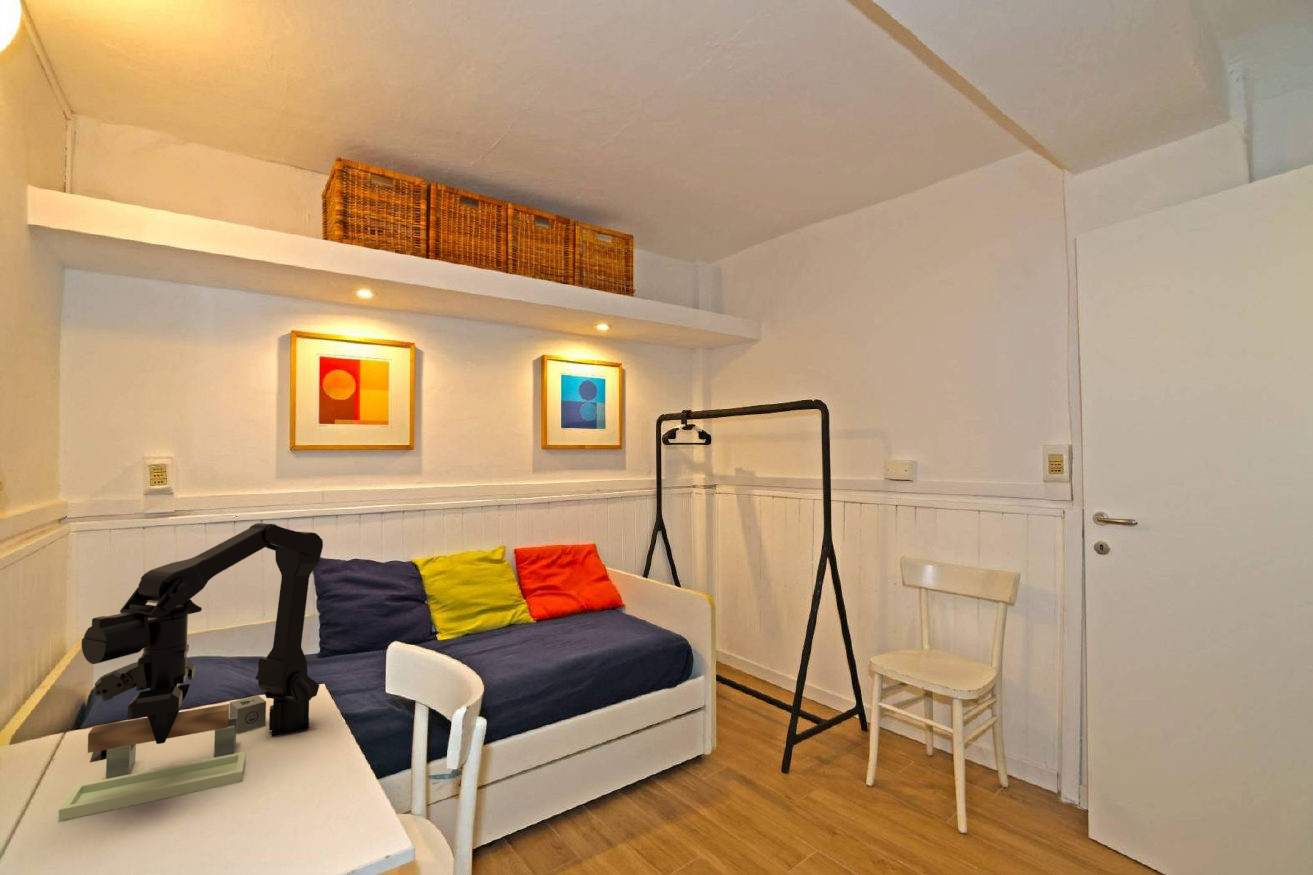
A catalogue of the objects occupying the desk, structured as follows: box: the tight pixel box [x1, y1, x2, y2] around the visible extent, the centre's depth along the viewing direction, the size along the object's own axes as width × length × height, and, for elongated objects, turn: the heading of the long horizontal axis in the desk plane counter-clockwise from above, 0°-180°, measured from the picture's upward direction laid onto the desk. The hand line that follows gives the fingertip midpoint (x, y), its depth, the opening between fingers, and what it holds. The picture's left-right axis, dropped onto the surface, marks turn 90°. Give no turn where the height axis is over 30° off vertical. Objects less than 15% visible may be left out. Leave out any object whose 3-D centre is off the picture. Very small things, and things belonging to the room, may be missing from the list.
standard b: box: [105, 744, 137, 779], centre depth 107 cm, size 3×5×5 cm, turn 31°
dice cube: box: [229, 694, 267, 735], centre depth 125 cm, size 5×5×5 cm
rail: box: [87, 703, 230, 754], centre depth 102 cm, size 18×3×3 cm, turn 121°
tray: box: [58, 751, 247, 822], centre depth 102 cm, size 23×8×2 cm, turn 121°
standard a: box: [213, 717, 237, 758], centre depth 115 cm, size 3×5×5 cm, turn 31°
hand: (162, 739), depth 102 cm, fingers closed on rail, 3 cm apart
